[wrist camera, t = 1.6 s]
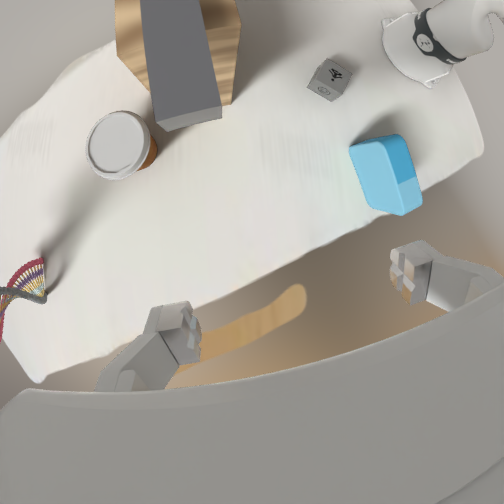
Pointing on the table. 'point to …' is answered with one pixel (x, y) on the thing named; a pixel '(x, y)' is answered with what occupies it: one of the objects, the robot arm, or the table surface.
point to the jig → (217, 30)
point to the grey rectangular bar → (179, 64)
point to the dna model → (17, 293)
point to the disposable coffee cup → (120, 145)
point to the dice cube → (329, 80)
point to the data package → (387, 174)
